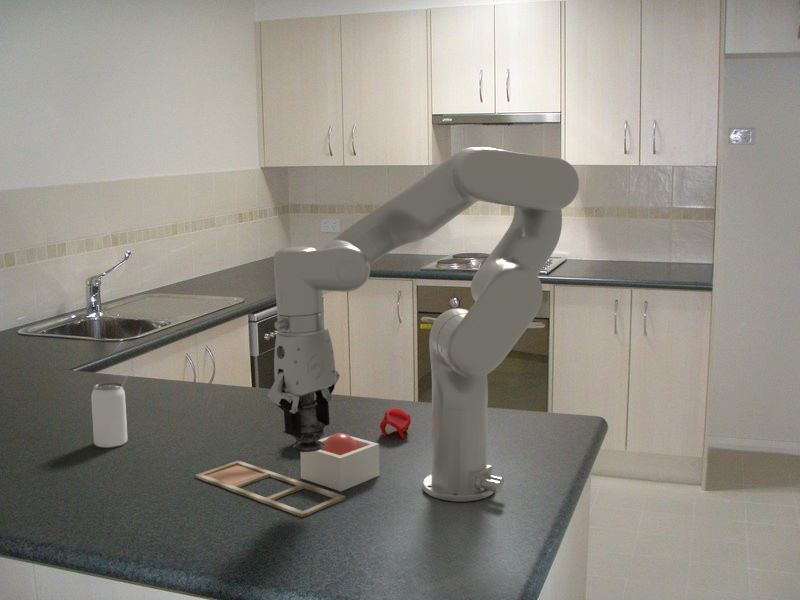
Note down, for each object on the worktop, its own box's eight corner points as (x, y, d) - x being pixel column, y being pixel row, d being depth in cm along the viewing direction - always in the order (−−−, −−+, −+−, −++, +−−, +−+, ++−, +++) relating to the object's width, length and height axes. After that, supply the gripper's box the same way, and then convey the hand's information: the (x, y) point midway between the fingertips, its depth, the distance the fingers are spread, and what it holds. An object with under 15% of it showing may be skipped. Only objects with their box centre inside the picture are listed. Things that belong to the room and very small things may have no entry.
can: (133, 443, 180) (130, 385, 178) (104, 450, 176) (100, 391, 174) (117, 436, 185) (114, 380, 183) (88, 443, 180) (84, 386, 178)
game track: (345, 499, 151) (345, 496, 150) (302, 517, 143) (302, 514, 143) (238, 462, 168) (238, 460, 168) (195, 477, 161) (195, 474, 161)
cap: (404, 428, 179) (417, 407, 183) (378, 416, 180) (391, 395, 184) (401, 450, 185) (414, 429, 188) (376, 438, 186) (389, 418, 190)
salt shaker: (333, 444, 149) (329, 374, 147) (311, 454, 145) (307, 383, 143) (306, 439, 153) (301, 371, 151) (283, 449, 148) (279, 379, 146)
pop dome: (365, 467, 161) (364, 433, 160) (340, 477, 156) (340, 442, 155) (339, 459, 165) (339, 426, 164) (315, 469, 160) (314, 434, 159)
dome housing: (379, 475, 161) (379, 443, 160) (340, 491, 154) (340, 458, 153) (339, 463, 168) (339, 432, 167) (301, 478, 160) (300, 446, 159)
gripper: (276, 335, 136) (284, 447, 139) (353, 316, 149) (359, 419, 152) (245, 330, 141) (253, 439, 144) (322, 312, 154) (328, 412, 157)
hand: (307, 428), depth 148 cm, fingers closed on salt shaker, 5 cm apart
